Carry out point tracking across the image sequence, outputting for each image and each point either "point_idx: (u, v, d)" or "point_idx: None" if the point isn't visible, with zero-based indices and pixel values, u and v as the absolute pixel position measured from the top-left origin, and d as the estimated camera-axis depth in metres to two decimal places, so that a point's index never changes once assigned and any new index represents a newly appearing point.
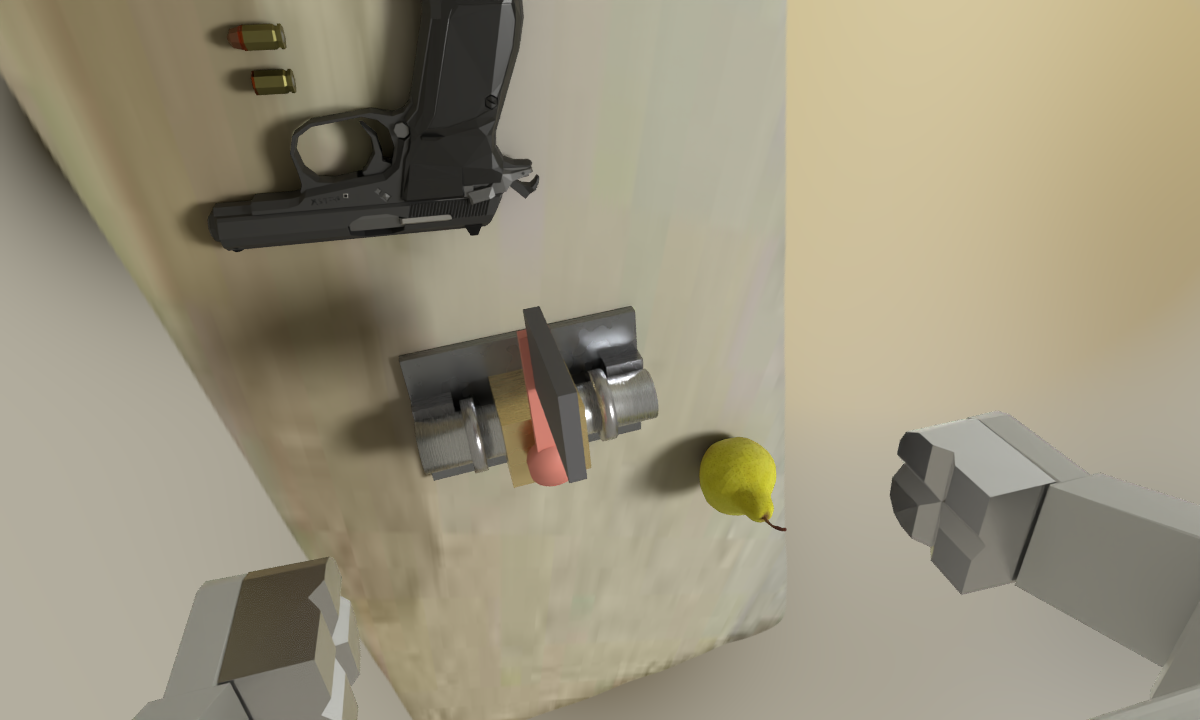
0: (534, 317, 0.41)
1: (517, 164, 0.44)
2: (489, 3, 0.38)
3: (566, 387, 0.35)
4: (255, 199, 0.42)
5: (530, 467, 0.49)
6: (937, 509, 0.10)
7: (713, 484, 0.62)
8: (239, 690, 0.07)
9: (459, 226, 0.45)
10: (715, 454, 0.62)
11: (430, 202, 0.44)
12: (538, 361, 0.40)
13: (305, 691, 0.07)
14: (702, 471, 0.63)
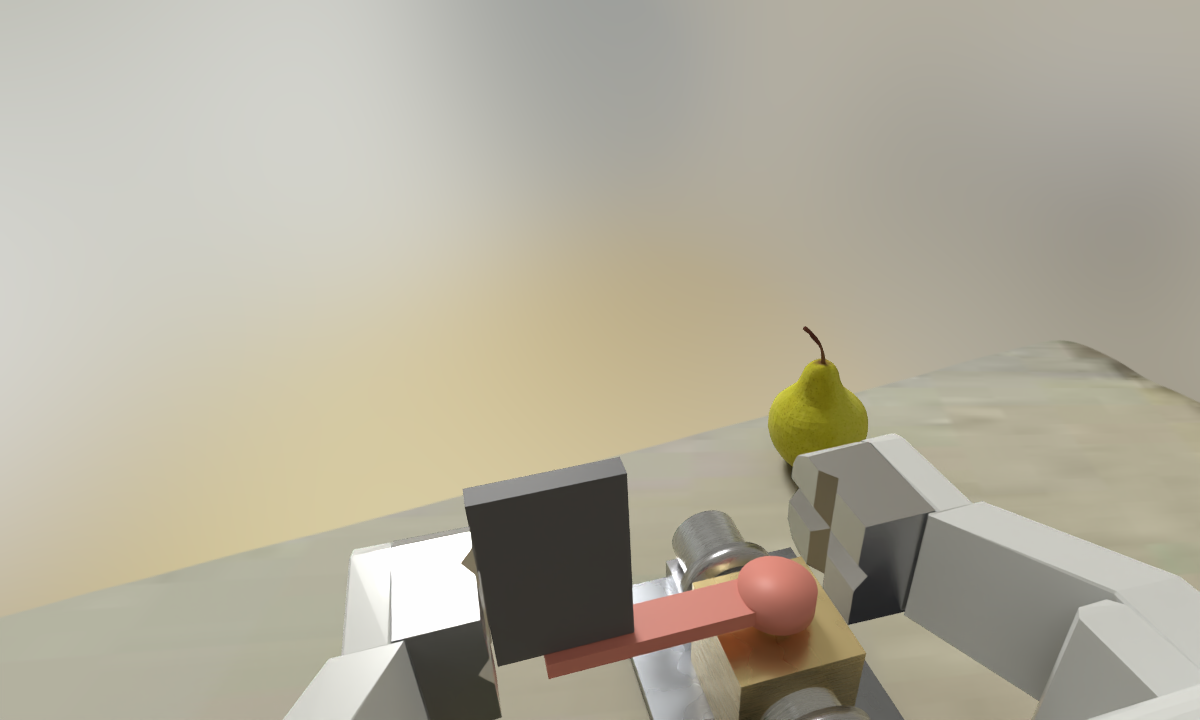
0: None
1: None
2: None
3: None
4: None
5: (784, 618, 0.31)
6: (827, 536, 0.10)
7: (823, 436, 0.48)
8: (410, 648, 0.07)
9: None
10: (792, 453, 0.50)
11: None
12: (522, 600, 0.28)
13: (467, 651, 0.08)
14: None
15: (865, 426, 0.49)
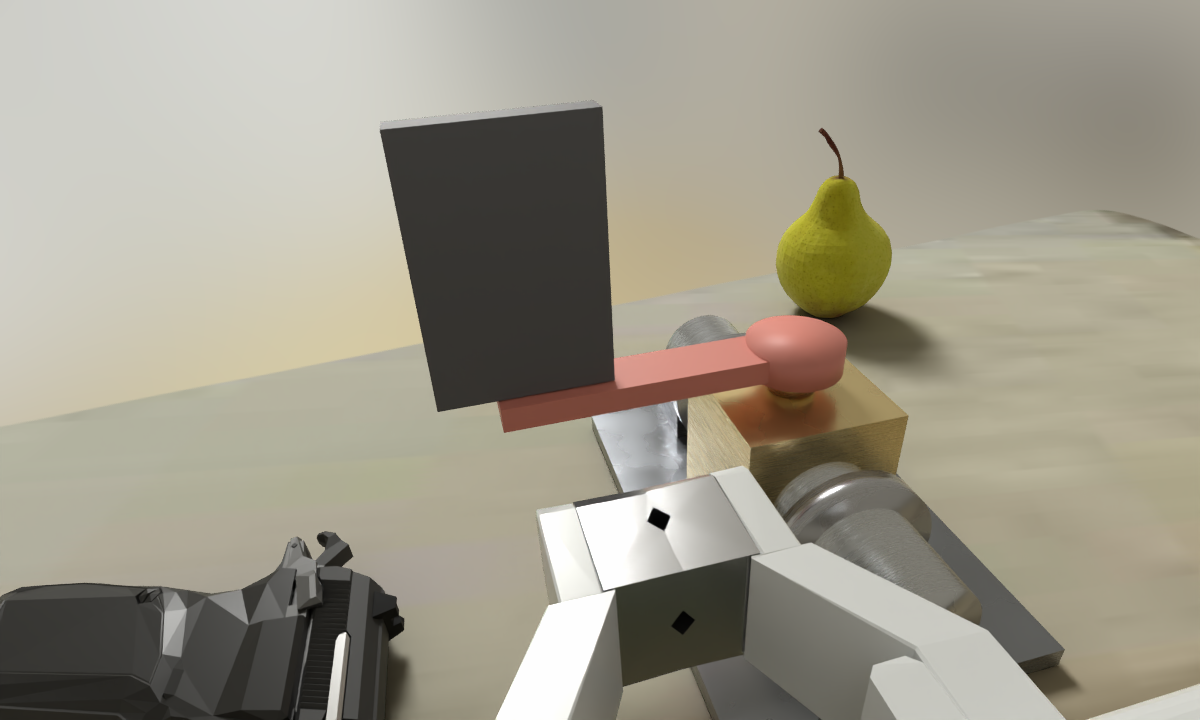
0: None
1: (283, 559, 0.27)
2: None
3: None
4: None
5: (806, 364, 0.24)
6: None
7: (841, 260, 0.42)
8: (619, 598, 0.08)
9: (374, 627, 0.24)
10: (804, 287, 0.43)
11: (305, 673, 0.22)
12: (465, 307, 0.21)
13: (666, 602, 0.08)
14: (840, 291, 0.43)
15: (889, 253, 0.43)
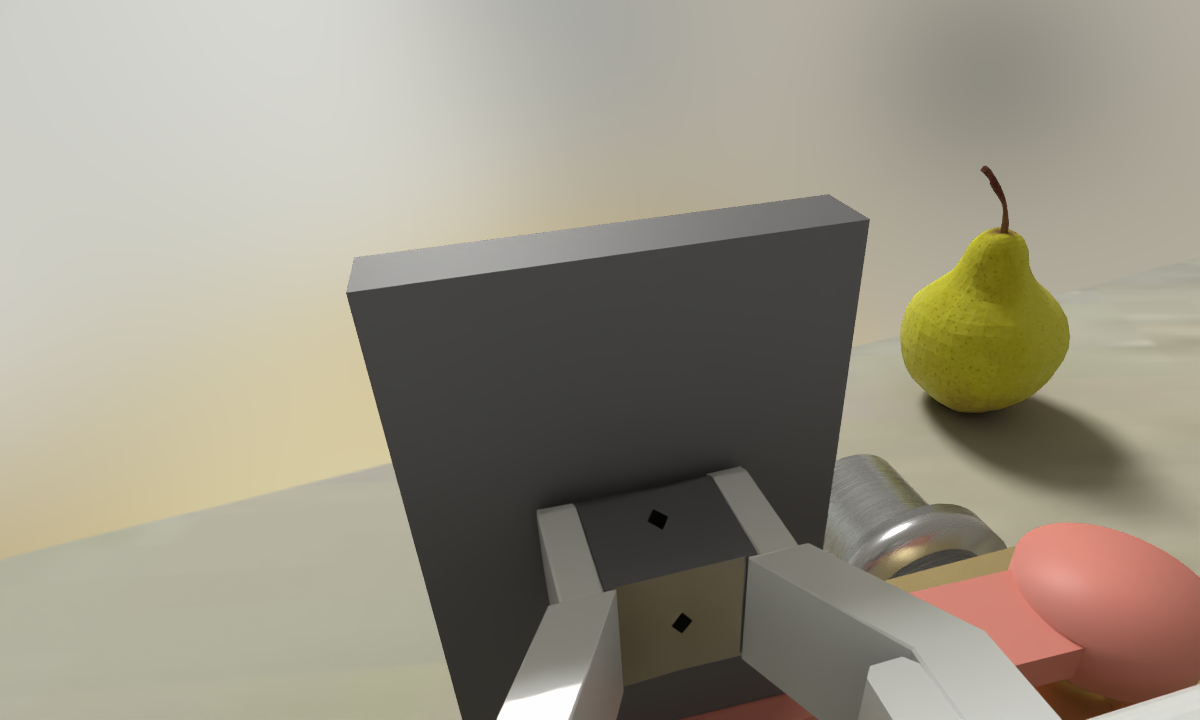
0: None
1: None
2: None
3: None
4: None
5: (1166, 664, 0.13)
6: None
7: (1009, 346, 0.30)
8: (619, 597, 0.08)
9: None
10: (950, 379, 0.32)
11: None
12: (536, 609, 0.10)
13: (666, 601, 0.08)
14: (1004, 386, 0.31)
15: (1068, 333, 0.31)
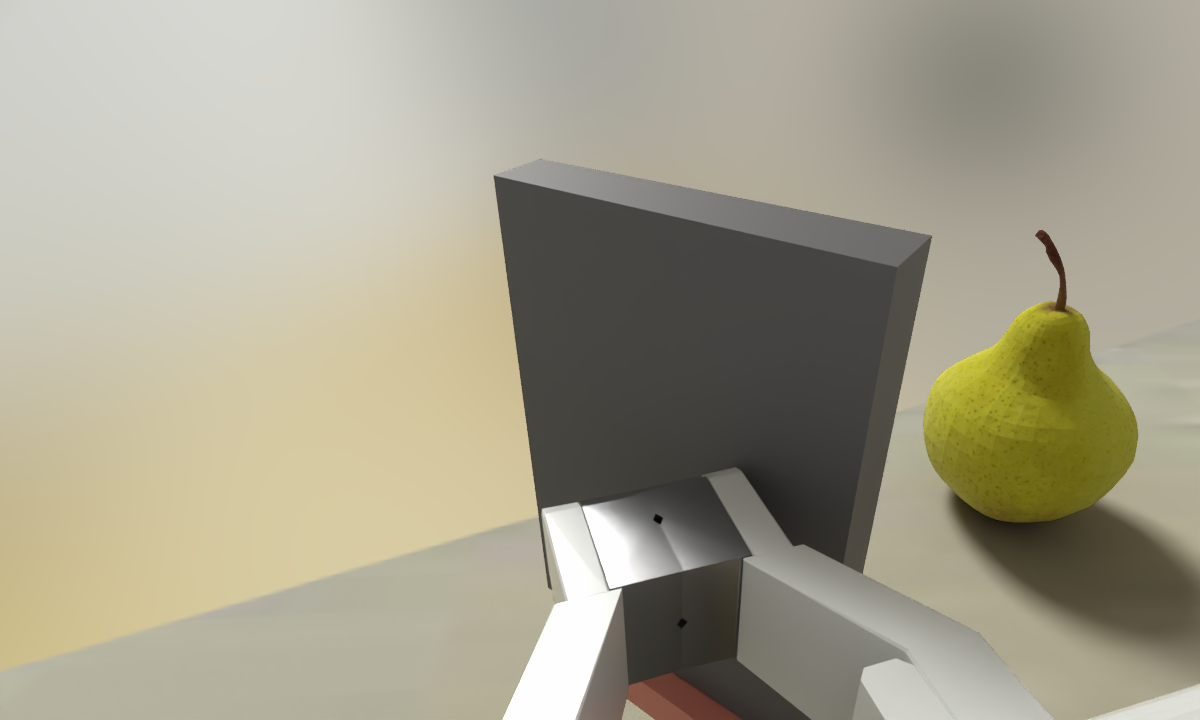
0: None
1: None
2: None
3: None
4: None
5: None
6: None
7: (1066, 454, 0.24)
8: (625, 596, 0.08)
9: None
10: (990, 488, 0.26)
11: None
12: (588, 489, 0.12)
13: (672, 600, 0.08)
14: (1058, 501, 0.25)
15: (1136, 434, 0.25)
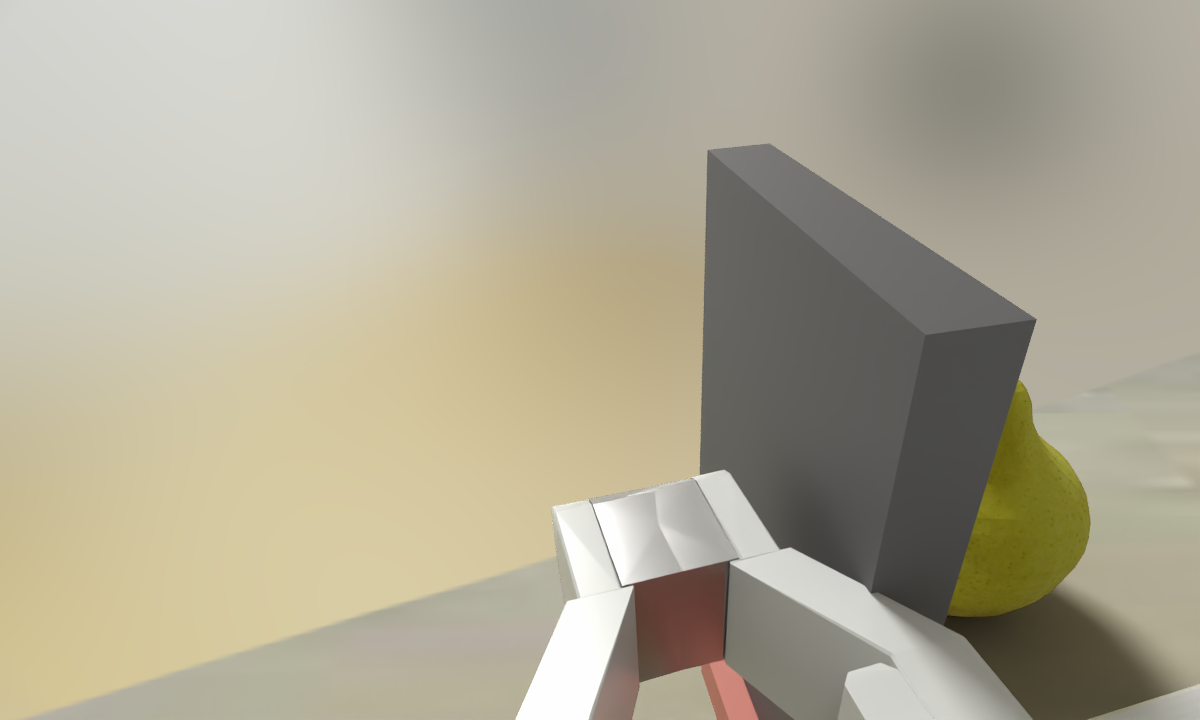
0: None
1: None
2: None
3: None
4: None
5: None
6: None
7: (1003, 549, 0.21)
8: (637, 593, 0.08)
9: None
10: None
11: None
12: None
13: (683, 597, 0.08)
14: (996, 600, 0.21)
15: (1088, 520, 0.22)
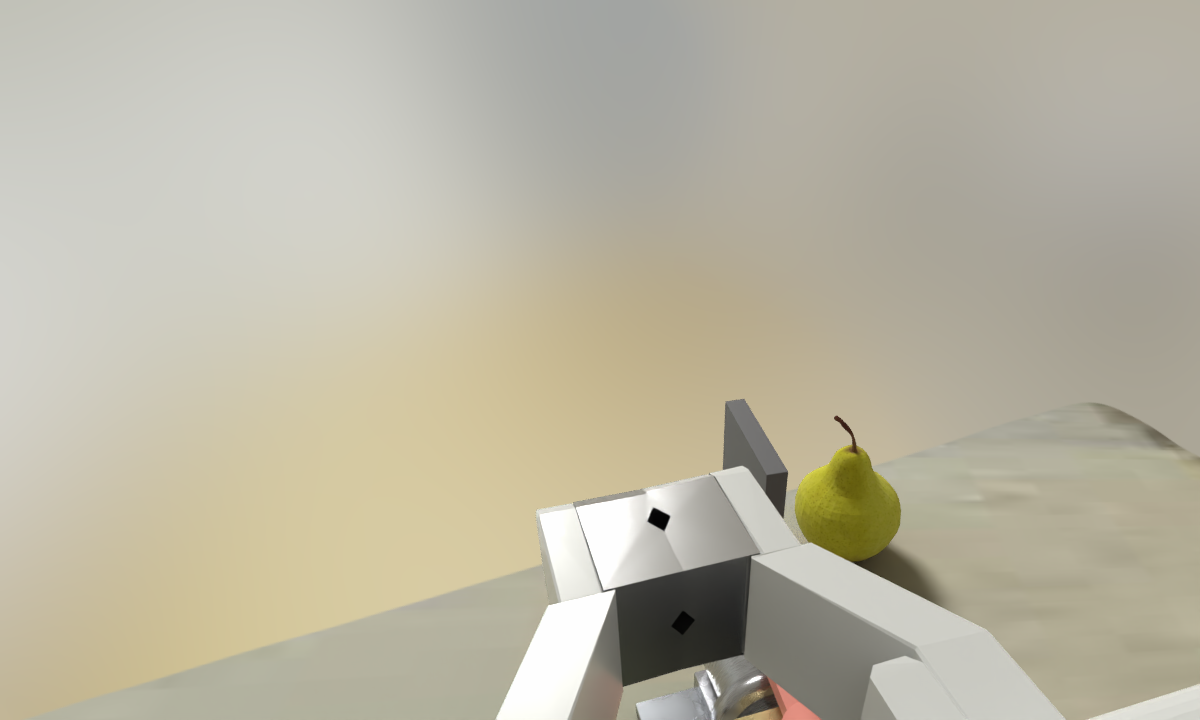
0: None
1: None
2: None
3: None
4: None
5: None
6: None
7: (855, 528, 0.46)
8: (618, 598, 0.08)
9: None
10: (821, 544, 0.48)
11: None
12: None
13: (665, 602, 0.08)
14: (855, 552, 0.47)
15: (898, 516, 0.47)
